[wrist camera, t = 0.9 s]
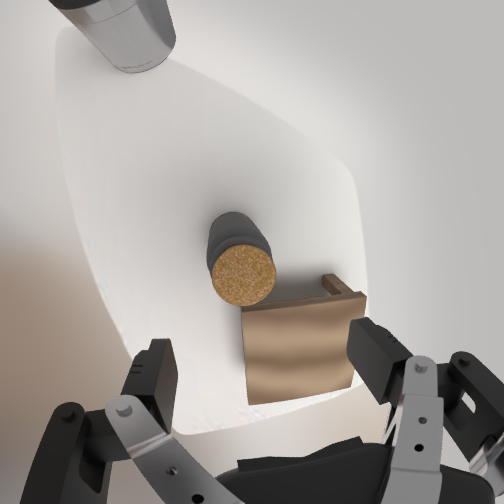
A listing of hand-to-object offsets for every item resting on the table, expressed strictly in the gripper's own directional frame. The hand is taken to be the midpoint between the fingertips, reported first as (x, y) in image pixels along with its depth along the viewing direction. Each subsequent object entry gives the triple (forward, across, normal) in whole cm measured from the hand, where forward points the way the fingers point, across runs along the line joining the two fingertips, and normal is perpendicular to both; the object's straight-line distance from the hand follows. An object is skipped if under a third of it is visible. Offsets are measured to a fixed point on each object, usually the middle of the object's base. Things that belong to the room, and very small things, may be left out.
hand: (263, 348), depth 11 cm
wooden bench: (+24, -7, +13) cm, 28 cm away
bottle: (+24, 0, 0) cm, 24 cm away
